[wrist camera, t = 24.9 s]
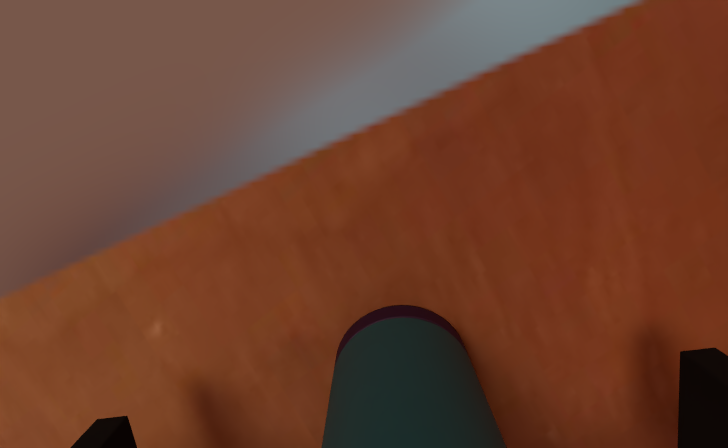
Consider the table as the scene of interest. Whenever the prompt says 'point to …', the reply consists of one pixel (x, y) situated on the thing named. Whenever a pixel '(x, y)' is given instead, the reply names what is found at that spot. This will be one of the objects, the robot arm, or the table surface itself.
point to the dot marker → (406, 386)
